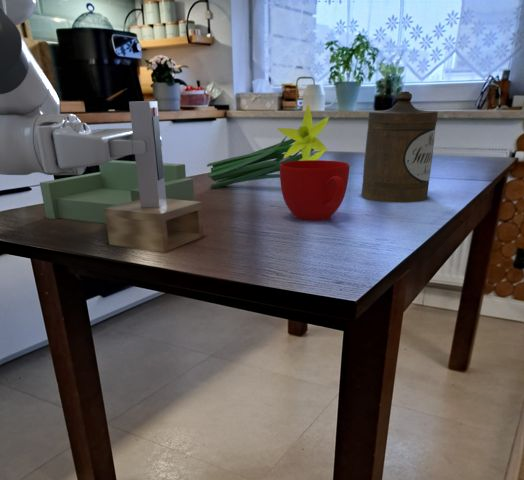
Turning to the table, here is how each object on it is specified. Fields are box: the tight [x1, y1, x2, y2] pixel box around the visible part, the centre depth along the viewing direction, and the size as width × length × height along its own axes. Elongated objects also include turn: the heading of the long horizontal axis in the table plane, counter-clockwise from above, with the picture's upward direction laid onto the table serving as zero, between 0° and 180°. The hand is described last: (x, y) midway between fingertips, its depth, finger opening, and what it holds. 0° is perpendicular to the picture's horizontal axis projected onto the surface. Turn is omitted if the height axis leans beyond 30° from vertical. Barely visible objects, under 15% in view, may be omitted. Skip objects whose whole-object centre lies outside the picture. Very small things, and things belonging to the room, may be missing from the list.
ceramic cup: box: [279, 159, 350, 222], centre depth 97 cm, size 13×17×10 cm
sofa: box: [39, 159, 196, 224], centre depth 102 cm, size 25×17×10 cm
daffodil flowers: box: [206, 105, 330, 190], centre depth 127 cm, size 17×15×35 cm
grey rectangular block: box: [128, 100, 166, 208], centre depth 80 cm, size 3×4×15 cm
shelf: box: [104, 199, 204, 253], centre depth 84 cm, size 11×11×6 cm
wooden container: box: [361, 91, 438, 203], centre depth 115 cm, size 15×15×22 cm
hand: (153, 144), depth 79 cm, fingers open, 7 cm apart
